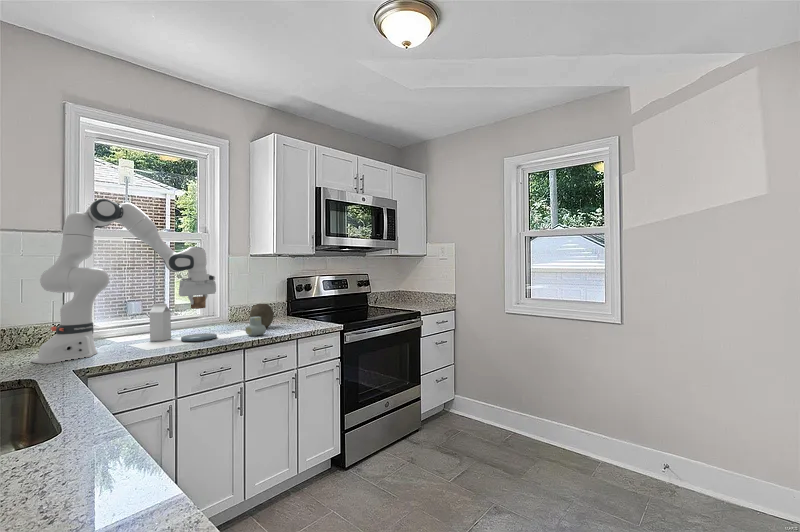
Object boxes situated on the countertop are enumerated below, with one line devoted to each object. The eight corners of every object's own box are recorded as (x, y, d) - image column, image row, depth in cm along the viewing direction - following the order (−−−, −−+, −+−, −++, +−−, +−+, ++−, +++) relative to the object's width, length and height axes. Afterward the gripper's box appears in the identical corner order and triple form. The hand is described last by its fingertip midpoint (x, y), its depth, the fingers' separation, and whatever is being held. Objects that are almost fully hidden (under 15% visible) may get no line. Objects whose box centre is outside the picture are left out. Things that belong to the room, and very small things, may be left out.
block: (197, 308, 220) (197, 297, 219) (190, 308, 222) (190, 297, 222) (205, 307, 224) (205, 296, 224) (199, 307, 226) (198, 296, 226)
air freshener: (268, 335, 232) (267, 317, 232) (254, 337, 226) (253, 318, 225) (257, 333, 239) (257, 315, 239) (243, 335, 233) (243, 317, 233)
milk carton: (163, 341, 219) (162, 304, 219) (150, 341, 220) (149, 304, 219) (171, 338, 227) (170, 303, 226) (158, 338, 227) (157, 303, 226)
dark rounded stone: (279, 327, 260) (278, 302, 260) (262, 330, 247) (262, 305, 247) (261, 325, 266) (260, 302, 266) (244, 329, 253) (243, 304, 253)
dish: (196, 343, 212) (196, 340, 212) (173, 341, 219) (173, 337, 219) (223, 337, 227) (223, 334, 227) (201, 335, 235) (201, 332, 235)
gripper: (183, 278, 212) (184, 306, 212) (217, 276, 230) (218, 302, 231) (175, 278, 215) (176, 305, 215) (209, 276, 233) (210, 301, 233)
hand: (198, 303), depth 223 cm, fingers closed on block, 5 cm apart
